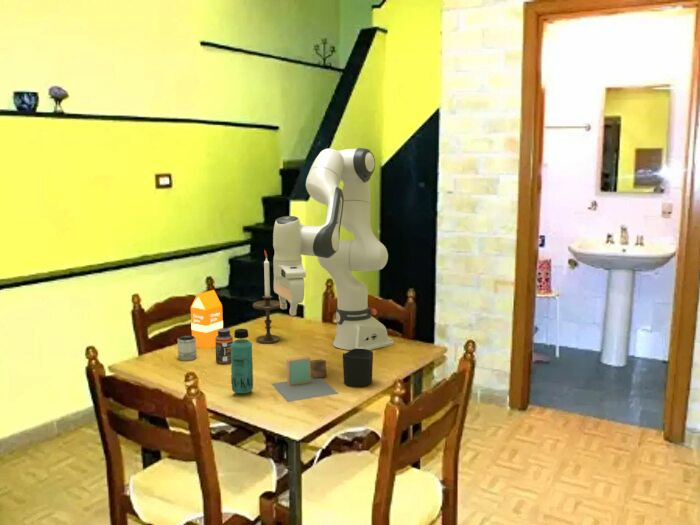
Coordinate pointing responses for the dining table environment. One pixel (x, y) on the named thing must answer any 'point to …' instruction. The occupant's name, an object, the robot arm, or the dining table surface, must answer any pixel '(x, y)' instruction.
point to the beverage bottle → (241, 363)
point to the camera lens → (187, 348)
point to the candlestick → (267, 308)
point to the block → (318, 368)
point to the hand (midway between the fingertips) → (288, 311)
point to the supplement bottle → (223, 346)
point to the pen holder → (358, 368)
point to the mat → (304, 389)
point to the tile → (298, 370)
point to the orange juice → (206, 318)
